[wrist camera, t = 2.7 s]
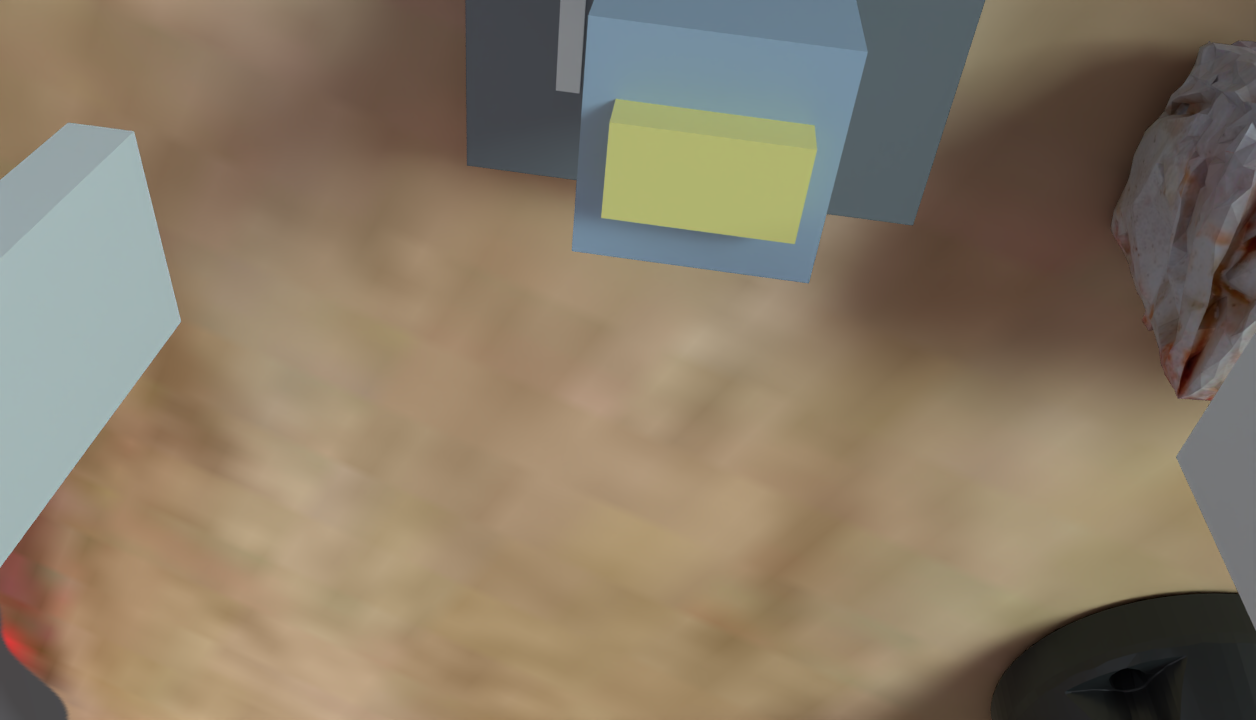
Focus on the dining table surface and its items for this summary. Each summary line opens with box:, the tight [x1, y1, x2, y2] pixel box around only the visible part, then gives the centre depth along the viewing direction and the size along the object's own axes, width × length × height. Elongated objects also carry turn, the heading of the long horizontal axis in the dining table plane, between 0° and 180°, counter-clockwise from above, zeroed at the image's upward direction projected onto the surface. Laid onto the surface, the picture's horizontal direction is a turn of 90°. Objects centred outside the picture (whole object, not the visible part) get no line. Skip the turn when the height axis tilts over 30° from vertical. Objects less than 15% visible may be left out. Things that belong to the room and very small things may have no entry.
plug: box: [572, 0, 868, 283], centre depth 20 cm, size 4×4×13 cm
